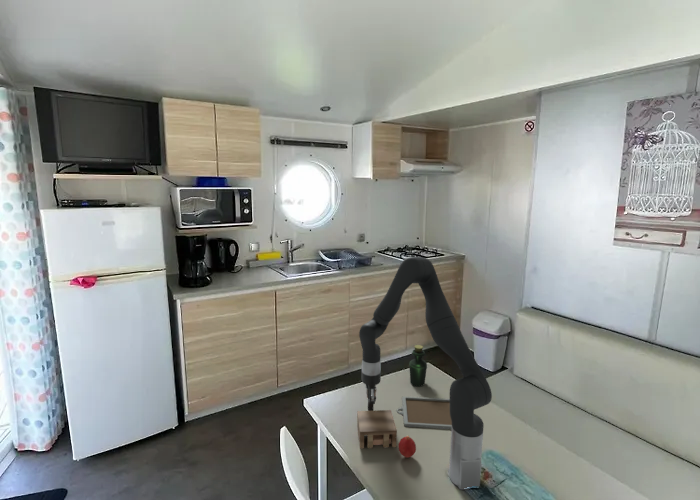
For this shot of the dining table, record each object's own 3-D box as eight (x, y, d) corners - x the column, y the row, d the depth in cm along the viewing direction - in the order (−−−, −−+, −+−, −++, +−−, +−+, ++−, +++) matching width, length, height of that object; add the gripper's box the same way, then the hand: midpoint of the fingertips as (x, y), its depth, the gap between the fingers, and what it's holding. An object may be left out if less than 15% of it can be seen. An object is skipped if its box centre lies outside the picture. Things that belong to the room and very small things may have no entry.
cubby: (396, 447, 129) (396, 430, 128) (359, 448, 128) (360, 431, 127) (390, 425, 140) (391, 410, 139) (357, 426, 140) (357, 411, 139)
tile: (391, 445, 130) (391, 439, 130) (372, 446, 130) (373, 440, 129) (384, 422, 143) (384, 416, 143) (367, 423, 143) (367, 417, 142)
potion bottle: (415, 377, 177) (416, 341, 174) (429, 383, 171) (431, 346, 168) (405, 383, 171) (406, 346, 168) (420, 389, 165) (421, 352, 163)
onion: (394, 456, 124) (395, 434, 123) (406, 448, 128) (406, 427, 127) (407, 466, 120) (408, 443, 119) (419, 457, 124) (419, 436, 122)
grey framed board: (478, 428, 137) (397, 423, 140) (477, 432, 138) (397, 427, 140) (467, 399, 156) (395, 395, 159) (466, 403, 156) (395, 399, 159)
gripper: (383, 378, 139) (382, 420, 142) (378, 362, 152) (377, 400, 155) (363, 379, 138) (362, 420, 141) (360, 362, 151) (359, 401, 154)
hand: (370, 410), depth 148 cm, fingers closed
